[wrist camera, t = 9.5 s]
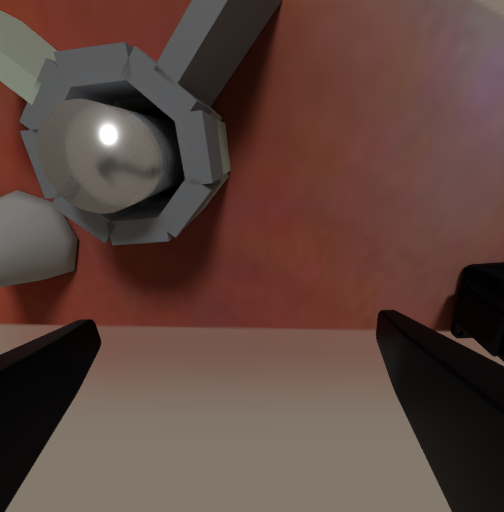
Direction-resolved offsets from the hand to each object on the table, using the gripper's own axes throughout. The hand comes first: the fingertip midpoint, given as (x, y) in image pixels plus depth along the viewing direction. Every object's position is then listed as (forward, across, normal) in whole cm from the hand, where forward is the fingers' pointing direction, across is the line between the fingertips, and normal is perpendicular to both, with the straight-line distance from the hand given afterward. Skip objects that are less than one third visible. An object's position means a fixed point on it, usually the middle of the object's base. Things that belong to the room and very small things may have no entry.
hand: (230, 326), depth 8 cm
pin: (+12, +5, -5) cm, 14 cm away
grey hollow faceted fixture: (+12, +3, -8) cm, 15 cm away
